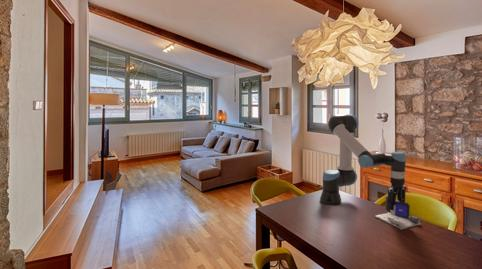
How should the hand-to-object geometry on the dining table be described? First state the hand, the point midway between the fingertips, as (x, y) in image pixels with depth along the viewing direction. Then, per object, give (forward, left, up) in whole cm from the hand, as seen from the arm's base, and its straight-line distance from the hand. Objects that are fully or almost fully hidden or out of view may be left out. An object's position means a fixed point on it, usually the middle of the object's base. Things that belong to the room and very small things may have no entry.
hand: (395, 214), depth 161 cm
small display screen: (0, +1, 0) cm, 2 cm away
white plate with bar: (0, +1, -5) cm, 5 cm away
